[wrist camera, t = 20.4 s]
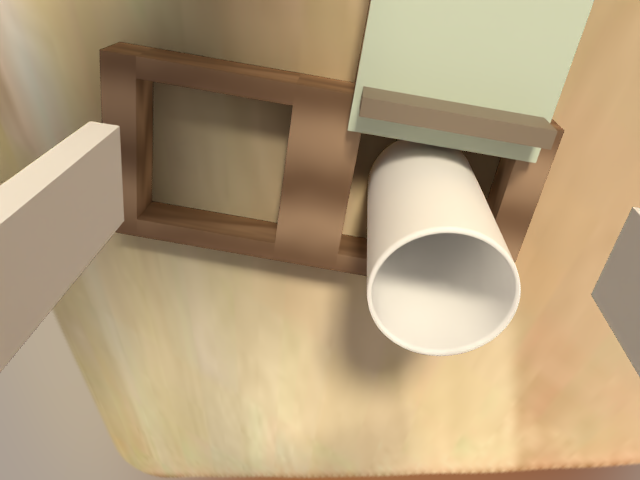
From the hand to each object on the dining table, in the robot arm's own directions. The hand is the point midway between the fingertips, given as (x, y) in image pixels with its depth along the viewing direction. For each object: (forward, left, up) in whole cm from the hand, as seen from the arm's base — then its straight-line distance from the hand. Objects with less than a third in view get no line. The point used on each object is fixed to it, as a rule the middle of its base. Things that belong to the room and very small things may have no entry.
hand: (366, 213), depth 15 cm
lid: (-1, +6, -25) cm, 25 cm away
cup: (+10, +6, -29) cm, 31 cm away
